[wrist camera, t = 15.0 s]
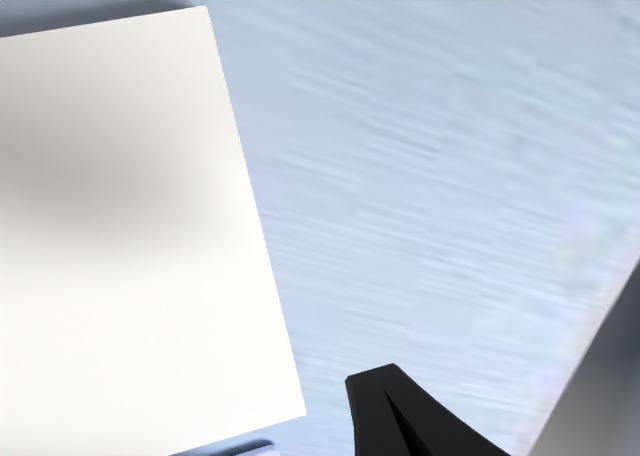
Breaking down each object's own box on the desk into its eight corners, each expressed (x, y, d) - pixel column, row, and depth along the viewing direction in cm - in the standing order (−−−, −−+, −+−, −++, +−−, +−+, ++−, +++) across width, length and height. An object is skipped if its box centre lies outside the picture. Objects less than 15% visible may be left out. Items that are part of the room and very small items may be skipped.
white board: (300, 386, 21) (306, 414, 19) (-18, 478, 19) (-46, 519, 17) (210, 17, 15) (205, 5, 13) (-271, 95, 13) (-356, 94, 11)
